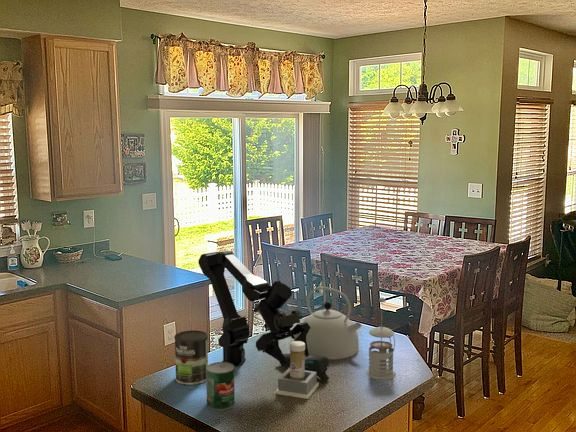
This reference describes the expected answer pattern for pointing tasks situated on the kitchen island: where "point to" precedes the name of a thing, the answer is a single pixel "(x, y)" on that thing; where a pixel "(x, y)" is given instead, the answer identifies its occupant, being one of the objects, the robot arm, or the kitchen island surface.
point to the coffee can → (191, 357)
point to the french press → (381, 353)
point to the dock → (297, 385)
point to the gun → (313, 365)
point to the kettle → (331, 331)
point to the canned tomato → (220, 385)
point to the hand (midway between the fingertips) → (297, 360)
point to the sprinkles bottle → (297, 360)
